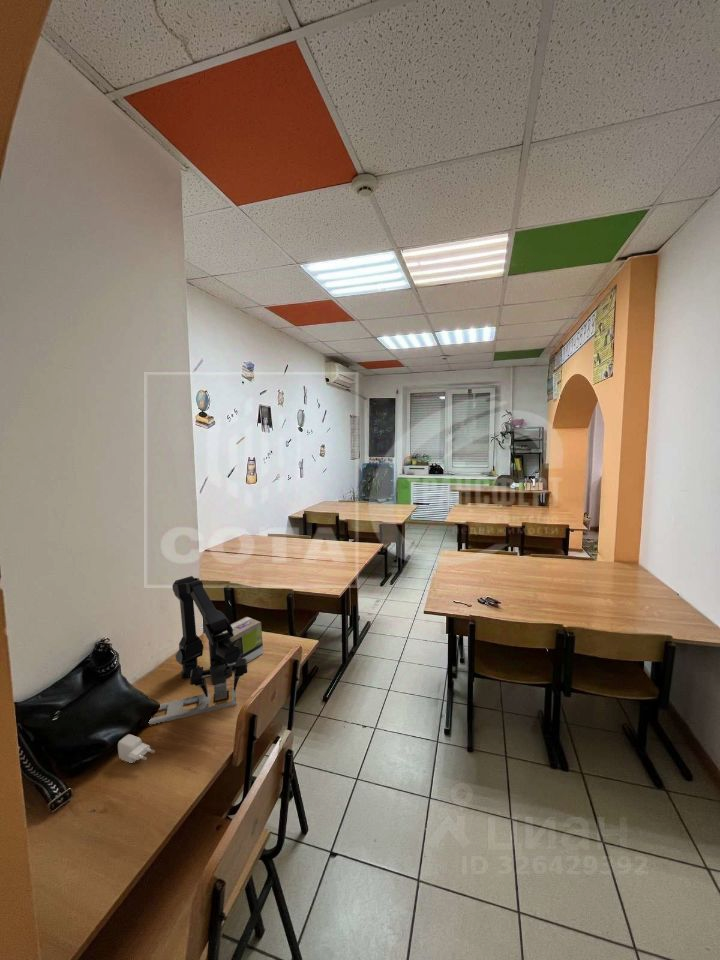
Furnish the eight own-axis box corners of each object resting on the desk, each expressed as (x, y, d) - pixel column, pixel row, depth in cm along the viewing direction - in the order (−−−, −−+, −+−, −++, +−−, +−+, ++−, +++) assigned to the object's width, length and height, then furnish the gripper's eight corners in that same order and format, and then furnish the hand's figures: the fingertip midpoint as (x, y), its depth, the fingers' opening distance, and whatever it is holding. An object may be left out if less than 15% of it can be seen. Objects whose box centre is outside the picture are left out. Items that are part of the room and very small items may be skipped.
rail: (145, 711, 131) (144, 706, 131) (235, 690, 141) (235, 686, 140) (140, 727, 123) (139, 723, 123) (236, 704, 133) (236, 700, 133)
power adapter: (158, 759, 111) (156, 741, 110) (143, 773, 106) (141, 754, 106) (131, 748, 115) (130, 731, 114) (116, 761, 111) (114, 743, 110)
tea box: (249, 646, 170) (247, 615, 169) (263, 653, 164) (262, 621, 163) (219, 663, 158) (217, 629, 156) (234, 671, 152) (232, 636, 151)
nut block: (215, 698, 136) (214, 680, 136) (227, 696, 138) (226, 678, 137) (215, 706, 133) (214, 687, 132) (227, 703, 134) (226, 685, 133)
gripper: (187, 671, 122) (190, 715, 124) (246, 658, 129) (249, 701, 130) (190, 652, 133) (193, 694, 135) (245, 642, 139) (247, 681, 141)
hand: (220, 693), depth 135 cm, fingers open, 9 cm apart
